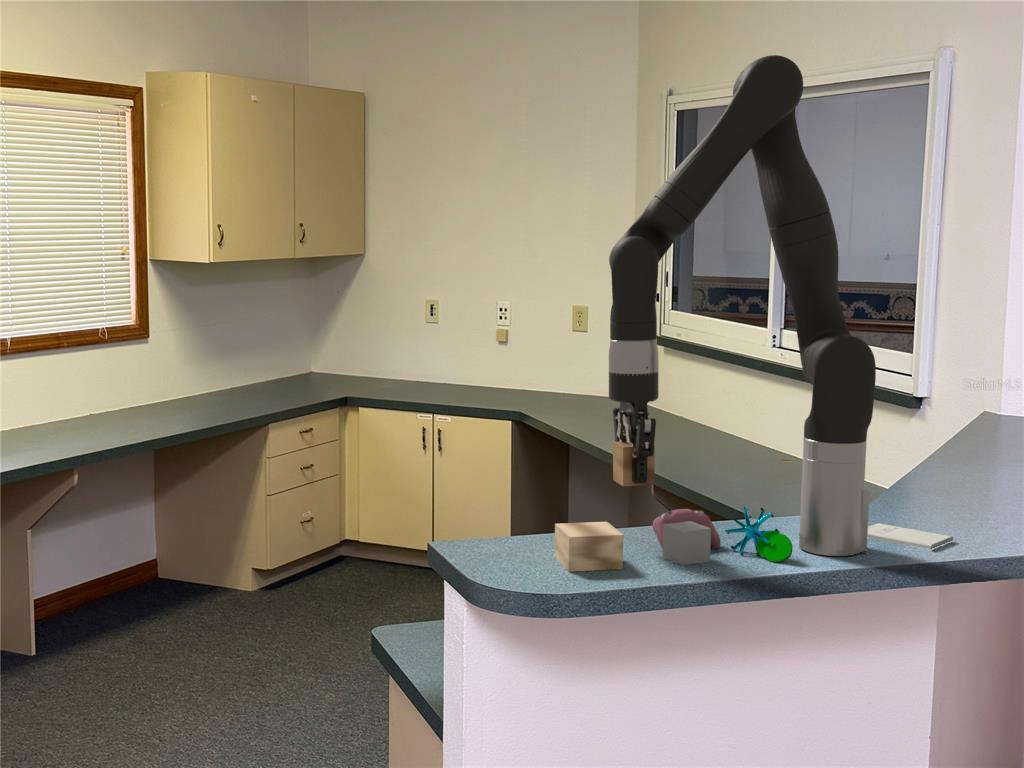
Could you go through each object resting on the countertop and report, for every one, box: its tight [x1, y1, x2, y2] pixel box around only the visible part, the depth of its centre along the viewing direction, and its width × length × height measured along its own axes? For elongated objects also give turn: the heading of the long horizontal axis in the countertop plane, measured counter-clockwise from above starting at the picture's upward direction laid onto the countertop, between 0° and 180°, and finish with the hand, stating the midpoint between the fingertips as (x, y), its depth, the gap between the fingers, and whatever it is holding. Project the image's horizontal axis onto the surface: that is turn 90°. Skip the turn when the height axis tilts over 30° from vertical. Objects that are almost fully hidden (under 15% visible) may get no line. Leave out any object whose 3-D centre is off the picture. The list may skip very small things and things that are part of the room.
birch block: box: [554, 521, 624, 573], centre depth 161 cm, size 8×8×5 cm
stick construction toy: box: [724, 506, 793, 563], centre depth 168 cm, size 12×7×8 cm
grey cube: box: [662, 521, 711, 566], centre depth 164 cm, size 5×5×5 cm
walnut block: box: [612, 441, 656, 487], centre depth 170 cm, size 5×5×6 cm
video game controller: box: [652, 508, 722, 550], centre depth 171 cm, size 10×5×7 cm, turn 111°
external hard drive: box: [868, 522, 954, 549], centre depth 178 cm, size 2×8×12 cm
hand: (633, 478), depth 170 cm, fingers closed on walnut block, 5 cm apart
